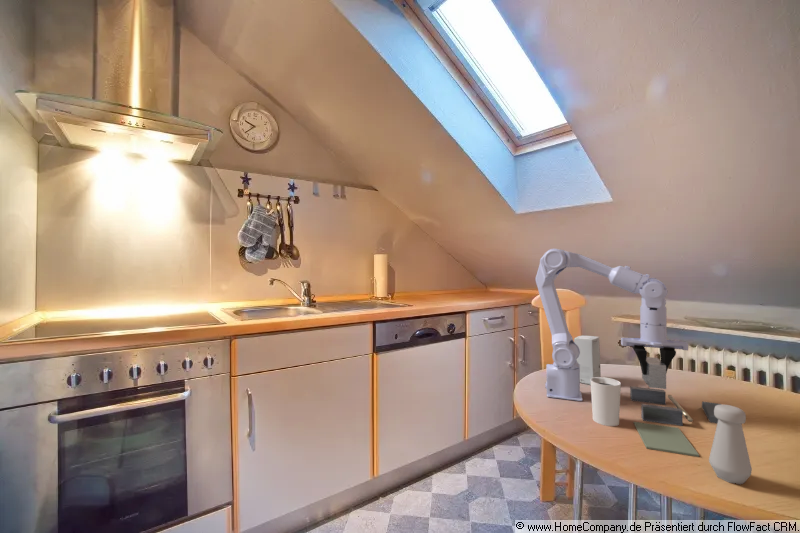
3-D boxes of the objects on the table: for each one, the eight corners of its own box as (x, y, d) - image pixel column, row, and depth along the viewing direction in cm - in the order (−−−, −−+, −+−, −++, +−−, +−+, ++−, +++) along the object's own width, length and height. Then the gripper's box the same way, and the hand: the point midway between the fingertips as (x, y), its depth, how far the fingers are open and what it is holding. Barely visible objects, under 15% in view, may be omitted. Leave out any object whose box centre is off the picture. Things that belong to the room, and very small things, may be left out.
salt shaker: (700, 469, 68) (700, 401, 68) (728, 467, 68) (727, 400, 68) (731, 488, 62) (731, 414, 62) (761, 486, 62) (760, 412, 62)
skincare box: (593, 386, 114) (593, 340, 114) (573, 382, 119) (573, 337, 119) (601, 379, 120) (600, 336, 120) (582, 376, 125) (581, 333, 125)
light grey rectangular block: (649, 387, 92) (649, 364, 92) (642, 378, 99) (641, 356, 99) (666, 389, 90) (666, 365, 90) (657, 379, 98) (657, 357, 98)
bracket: (722, 411, 95) (722, 403, 95) (732, 428, 85) (732, 419, 85) (701, 408, 97) (701, 400, 97) (709, 424, 88) (709, 415, 88)
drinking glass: (624, 428, 85) (623, 387, 85) (593, 424, 87) (592, 384, 87) (617, 417, 91) (617, 378, 91) (588, 413, 93) (588, 376, 93)
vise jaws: (643, 420, 89) (643, 406, 89) (630, 398, 104) (630, 386, 104) (693, 427, 85) (692, 412, 85) (672, 403, 100) (672, 390, 100)
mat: (646, 448, 76) (646, 446, 76) (633, 423, 88) (633, 421, 88) (699, 457, 72) (699, 455, 72) (678, 429, 84) (678, 427, 84)
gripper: (624, 324, 94) (624, 375, 94) (692, 327, 88) (692, 382, 88) (619, 320, 100) (619, 368, 100) (682, 323, 94) (683, 374, 95)
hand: (653, 374), depth 95 cm, fingers closed on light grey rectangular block, 4 cm apart
